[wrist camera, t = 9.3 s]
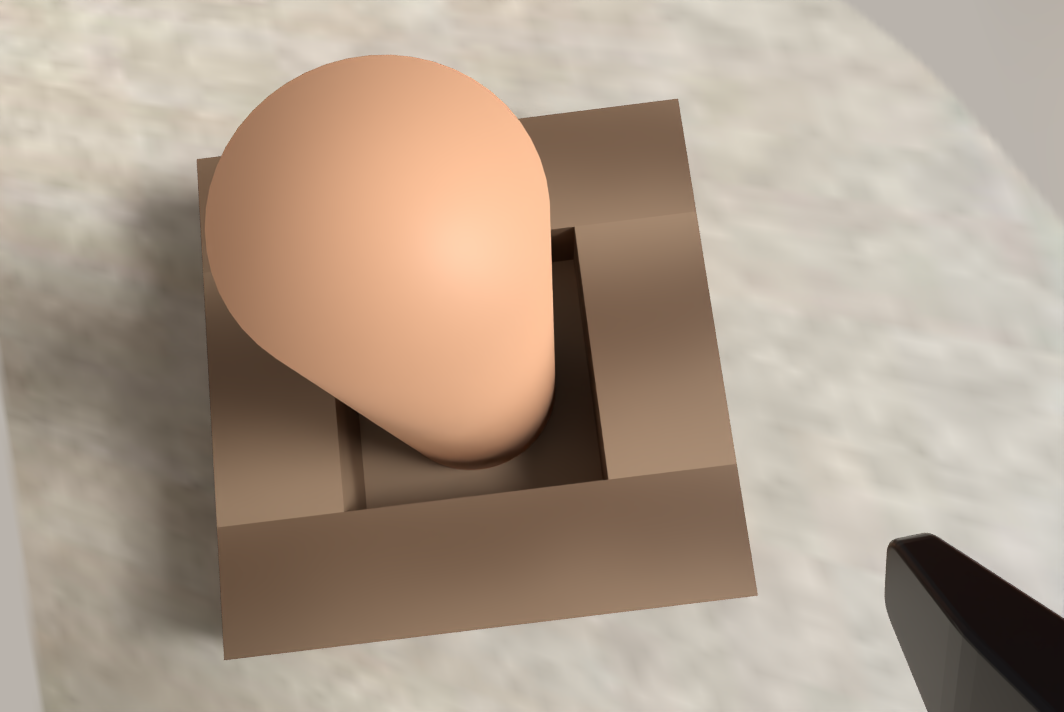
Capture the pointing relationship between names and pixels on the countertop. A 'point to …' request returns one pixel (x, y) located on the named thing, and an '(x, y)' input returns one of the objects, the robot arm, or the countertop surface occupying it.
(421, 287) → the peg
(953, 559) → the robot arm
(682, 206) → the socket block
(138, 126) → the countertop surface
